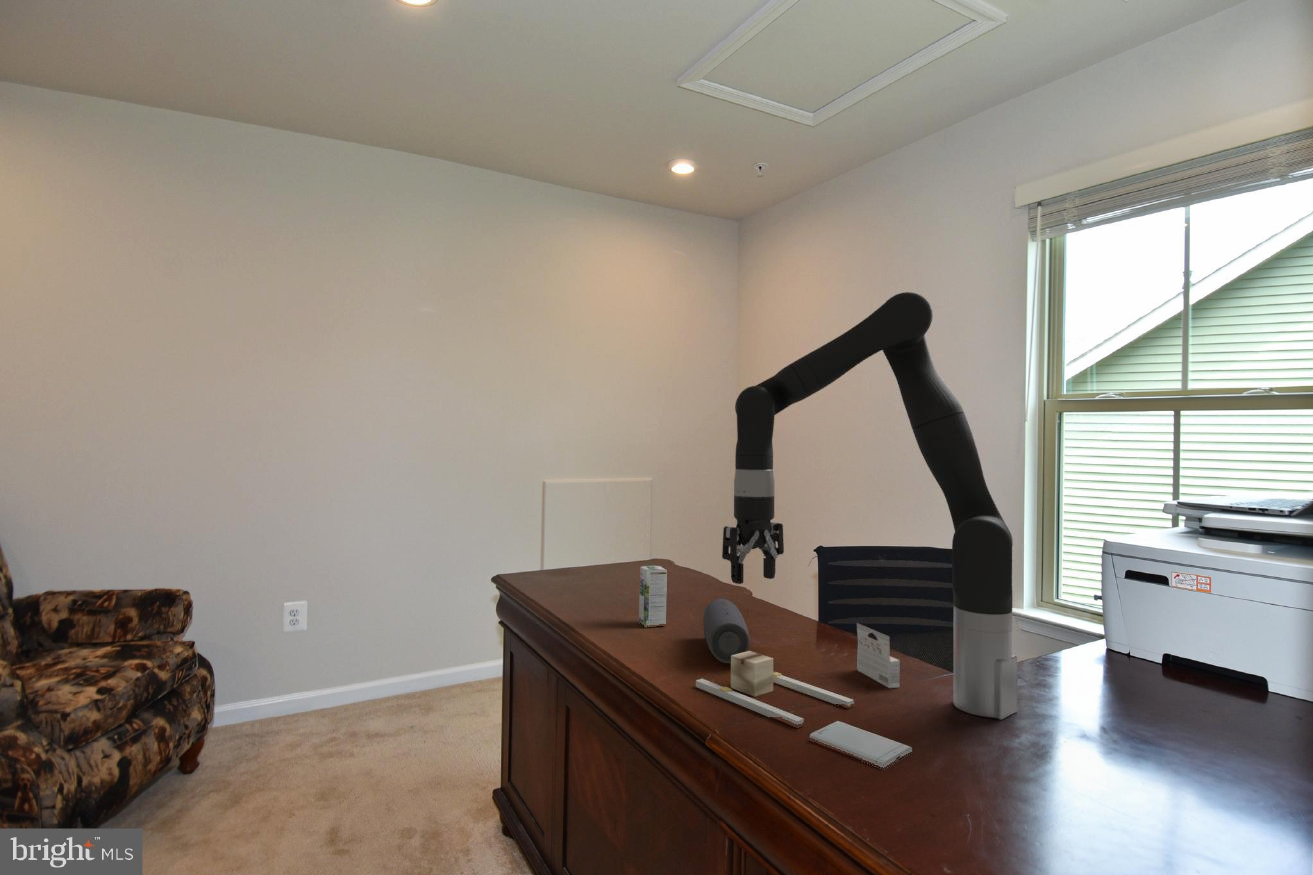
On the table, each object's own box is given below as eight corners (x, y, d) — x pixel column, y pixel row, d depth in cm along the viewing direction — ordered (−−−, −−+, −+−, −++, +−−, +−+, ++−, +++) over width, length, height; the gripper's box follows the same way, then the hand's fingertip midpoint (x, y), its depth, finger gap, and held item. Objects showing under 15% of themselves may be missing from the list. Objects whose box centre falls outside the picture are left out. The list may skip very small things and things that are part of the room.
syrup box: (638, 622, 173) (638, 565, 173) (660, 621, 175) (660, 565, 175) (644, 628, 168) (645, 569, 168) (667, 626, 169) (667, 568, 170)
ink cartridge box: (866, 669, 138) (866, 621, 138) (900, 688, 127) (900, 636, 128) (855, 670, 137) (856, 622, 138) (889, 689, 127) (889, 636, 127)
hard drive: (808, 733, 104) (883, 761, 94) (838, 719, 109) (912, 744, 100) (808, 744, 104) (883, 773, 94) (838, 730, 109) (912, 756, 100)
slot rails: (853, 706, 117) (853, 698, 117) (797, 728, 108) (797, 719, 108) (751, 670, 136) (751, 663, 136) (695, 686, 127) (695, 679, 127)
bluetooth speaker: (752, 670, 137) (753, 620, 137) (706, 669, 137) (707, 619, 137) (741, 639, 159) (741, 596, 160) (701, 638, 160) (701, 595, 160)
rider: (773, 690, 125) (773, 657, 125) (754, 697, 122) (754, 662, 122) (749, 682, 130) (749, 650, 130) (730, 687, 127) (730, 655, 127)
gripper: (742, 496, 119) (741, 588, 119) (794, 493, 128) (794, 579, 128) (712, 494, 125) (712, 582, 125) (764, 491, 134) (764, 573, 134)
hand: (753, 580), depth 126 cm, fingers open, 8 cm apart
